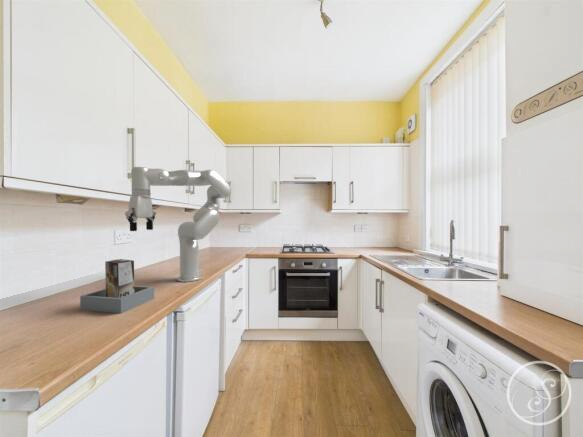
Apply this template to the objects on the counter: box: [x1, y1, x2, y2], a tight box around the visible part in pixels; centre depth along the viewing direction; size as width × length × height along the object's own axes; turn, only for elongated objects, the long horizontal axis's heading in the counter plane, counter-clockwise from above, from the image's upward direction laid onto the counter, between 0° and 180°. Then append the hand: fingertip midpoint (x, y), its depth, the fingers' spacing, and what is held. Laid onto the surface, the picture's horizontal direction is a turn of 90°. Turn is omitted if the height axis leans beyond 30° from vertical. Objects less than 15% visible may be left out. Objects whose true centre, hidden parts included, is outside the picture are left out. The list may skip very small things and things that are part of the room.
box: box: [79, 285, 155, 314], centre depth 98 cm, size 16×18×5 cm
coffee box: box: [104, 258, 135, 298], centre depth 98 cm, size 9×6×16 cm
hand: (141, 230), depth 117 cm, fingers open, 9 cm apart
